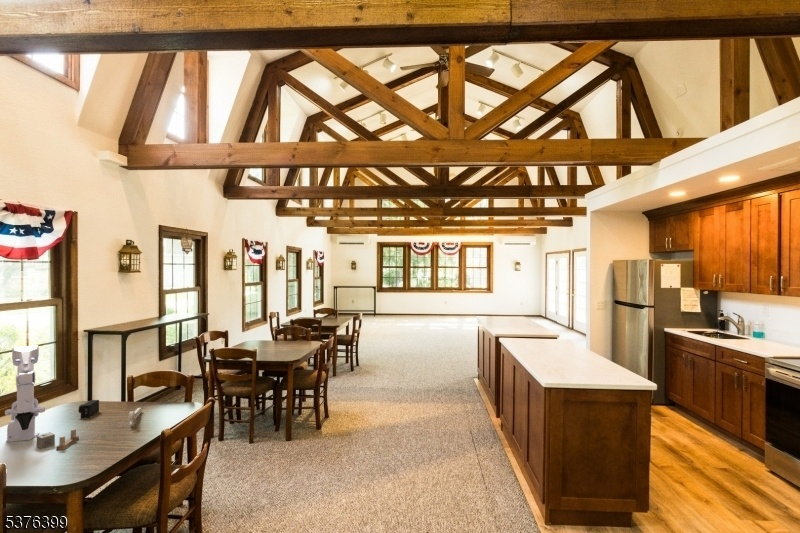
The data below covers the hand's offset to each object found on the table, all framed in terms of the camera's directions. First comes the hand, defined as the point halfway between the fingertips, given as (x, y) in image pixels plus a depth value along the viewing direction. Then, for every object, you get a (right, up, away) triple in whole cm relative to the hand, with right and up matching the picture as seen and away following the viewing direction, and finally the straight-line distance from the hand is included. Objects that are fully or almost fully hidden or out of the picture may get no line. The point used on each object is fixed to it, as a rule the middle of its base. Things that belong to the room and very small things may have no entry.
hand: (25, 429), depth 189 cm
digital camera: (-3, -9, +43) cm, 44 cm away
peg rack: (+17, -8, +3) cm, 19 cm away
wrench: (+28, -9, +35) cm, 45 cm away
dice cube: (+8, -9, +2) cm, 12 cm away
